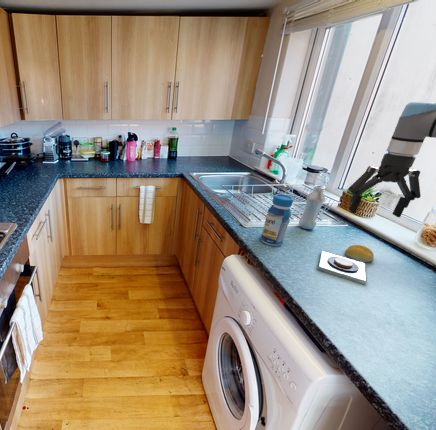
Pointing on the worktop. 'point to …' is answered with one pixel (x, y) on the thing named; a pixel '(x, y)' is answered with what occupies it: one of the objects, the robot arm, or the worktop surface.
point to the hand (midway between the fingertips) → (373, 213)
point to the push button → (342, 267)
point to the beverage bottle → (277, 220)
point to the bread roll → (360, 253)
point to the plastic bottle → (312, 208)
